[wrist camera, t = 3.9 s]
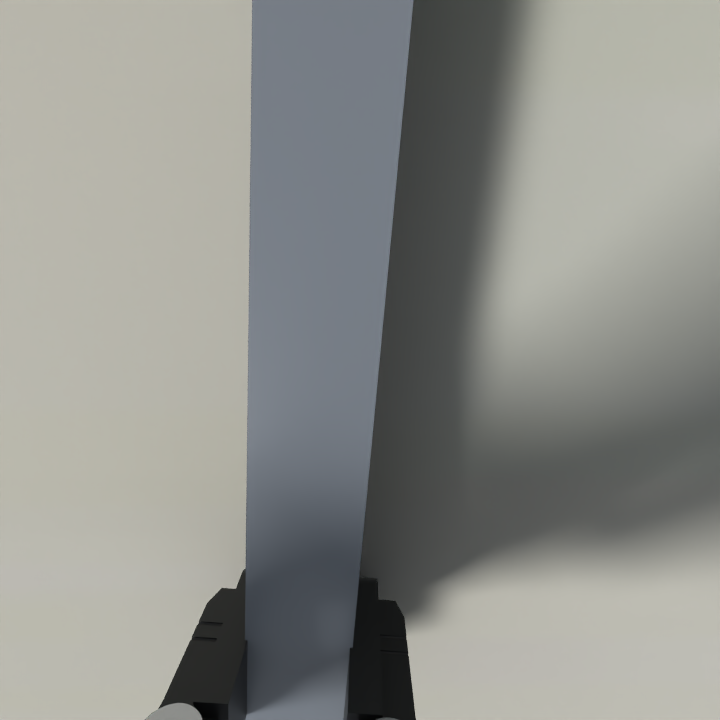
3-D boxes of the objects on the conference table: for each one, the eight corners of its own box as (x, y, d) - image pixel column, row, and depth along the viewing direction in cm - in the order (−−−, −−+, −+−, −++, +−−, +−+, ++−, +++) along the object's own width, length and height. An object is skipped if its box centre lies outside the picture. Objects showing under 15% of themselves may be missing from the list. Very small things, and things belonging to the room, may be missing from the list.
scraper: (88, -407, 7) (-104, -870, 4) (649, -351, 7) (844, -766, 4) (150, 633, 13) (86, 745, 10) (465, 656, 13) (496, 773, 10)
